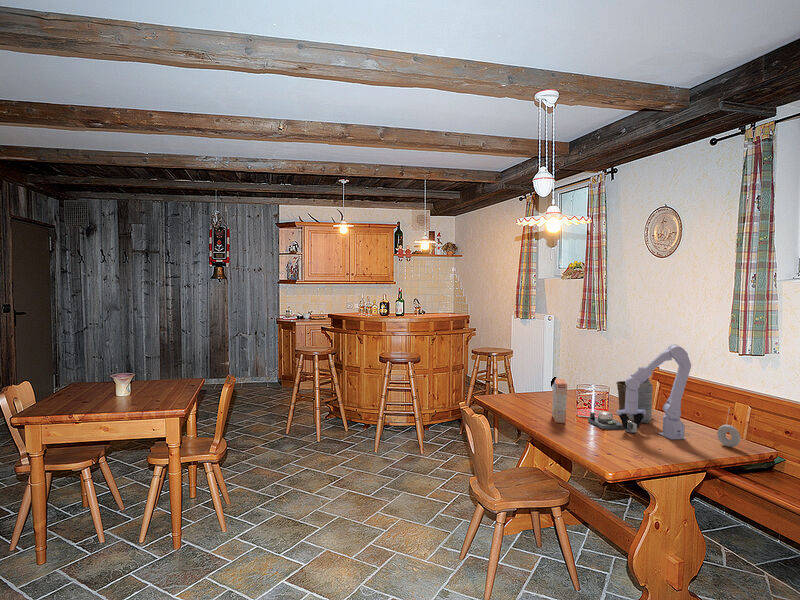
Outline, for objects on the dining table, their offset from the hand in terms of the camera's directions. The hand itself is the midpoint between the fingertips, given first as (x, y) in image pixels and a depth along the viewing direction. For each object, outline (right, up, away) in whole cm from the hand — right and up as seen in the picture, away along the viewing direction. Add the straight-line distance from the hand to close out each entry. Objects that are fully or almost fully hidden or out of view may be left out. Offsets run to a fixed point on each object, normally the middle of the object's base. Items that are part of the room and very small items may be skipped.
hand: (630, 428), depth 249 cm
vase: (+13, -1, +19) cm, 23 cm away
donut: (+35, -3, -20) cm, 41 cm away
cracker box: (-29, -1, +20) cm, 35 cm away
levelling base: (-8, -1, +11) cm, 14 cm away
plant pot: (+18, -1, +40) cm, 44 cm away
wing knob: (0, -2, 0) cm, 2 cm away
